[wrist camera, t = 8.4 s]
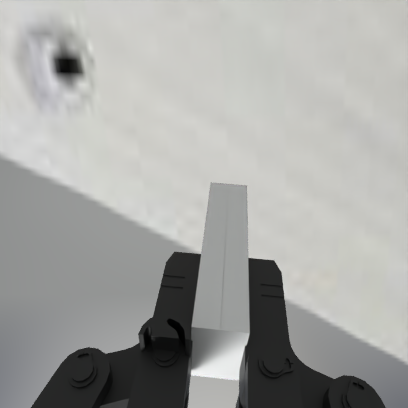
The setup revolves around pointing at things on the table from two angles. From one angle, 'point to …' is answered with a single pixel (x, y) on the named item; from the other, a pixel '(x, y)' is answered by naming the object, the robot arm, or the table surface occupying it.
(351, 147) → the table surface
